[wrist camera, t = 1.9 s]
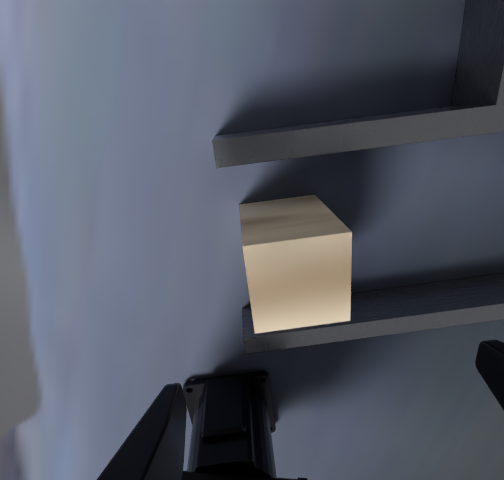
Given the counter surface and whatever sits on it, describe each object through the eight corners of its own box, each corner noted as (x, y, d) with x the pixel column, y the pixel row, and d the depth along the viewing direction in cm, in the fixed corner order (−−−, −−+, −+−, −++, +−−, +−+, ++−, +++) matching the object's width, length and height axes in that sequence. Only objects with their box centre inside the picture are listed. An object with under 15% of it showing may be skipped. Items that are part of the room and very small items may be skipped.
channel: (597, 274, 21) (651, 299, 19) (244, 322, 21) (246, 354, 18) (780, -188, 13) (934, -272, 10) (176, -119, 12) (160, -185, 9)
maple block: (316, 261, 20) (350, 320, 14) (248, 270, 20) (254, 333, 14) (314, 194, 18) (352, 231, 12) (238, 204, 18) (242, 246, 12)
